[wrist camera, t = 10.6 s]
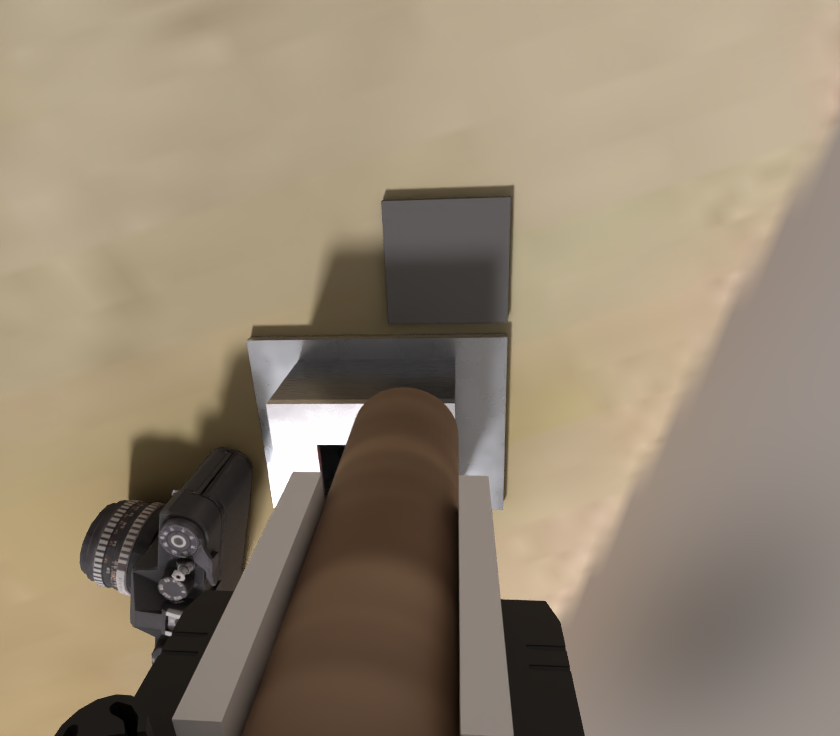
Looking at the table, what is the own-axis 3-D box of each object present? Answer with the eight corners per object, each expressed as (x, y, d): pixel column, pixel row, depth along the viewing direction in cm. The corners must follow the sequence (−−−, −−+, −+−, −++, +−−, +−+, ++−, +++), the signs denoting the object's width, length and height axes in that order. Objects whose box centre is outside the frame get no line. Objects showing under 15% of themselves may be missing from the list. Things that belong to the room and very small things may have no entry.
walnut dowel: (349, 386, 18) (-123, 1487, 3) (459, 387, 18) (474, 1574, 3) (356, 478, 19) (43, 1545, 5) (457, 481, 19) (463, 1604, 4)
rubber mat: (382, 200, 35) (381, 201, 34) (509, 196, 34) (510, 197, 34) (389, 321, 38) (388, 323, 37) (506, 319, 37) (507, 322, 37)
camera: (124, 425, 42) (32, 503, 33) (263, 452, 43) (209, 537, 33) (128, 566, 48) (50, 666, 39) (250, 590, 48) (201, 695, 39)
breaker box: (250, 336, 39) (203, 380, 32) (506, 333, 37) (517, 378, 30) (276, 501, 44) (241, 571, 37) (502, 503, 43) (511, 576, 36)
